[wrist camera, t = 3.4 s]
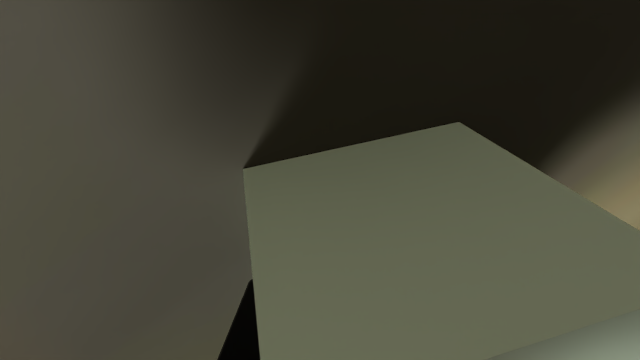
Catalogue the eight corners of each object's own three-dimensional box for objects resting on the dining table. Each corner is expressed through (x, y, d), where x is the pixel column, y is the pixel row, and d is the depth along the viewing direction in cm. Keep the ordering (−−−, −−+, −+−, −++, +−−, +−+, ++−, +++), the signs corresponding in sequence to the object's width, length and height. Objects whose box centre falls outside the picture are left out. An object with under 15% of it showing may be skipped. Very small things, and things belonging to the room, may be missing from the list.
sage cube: (458, 121, 8) (723, 281, 4) (443, 273, 11) (589, 469, 6) (243, 169, 7) (266, 430, 3) (284, 319, 10) (328, 572, 6)
